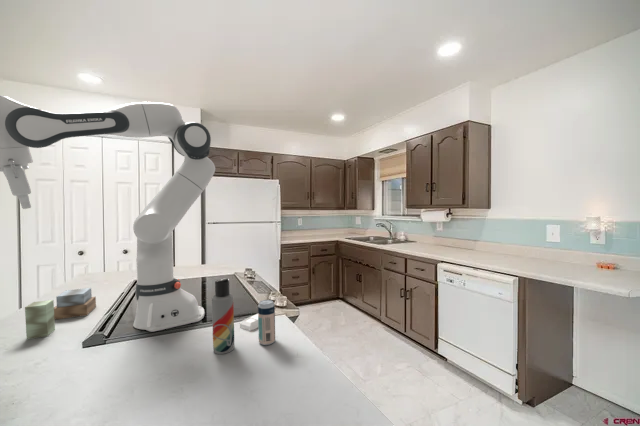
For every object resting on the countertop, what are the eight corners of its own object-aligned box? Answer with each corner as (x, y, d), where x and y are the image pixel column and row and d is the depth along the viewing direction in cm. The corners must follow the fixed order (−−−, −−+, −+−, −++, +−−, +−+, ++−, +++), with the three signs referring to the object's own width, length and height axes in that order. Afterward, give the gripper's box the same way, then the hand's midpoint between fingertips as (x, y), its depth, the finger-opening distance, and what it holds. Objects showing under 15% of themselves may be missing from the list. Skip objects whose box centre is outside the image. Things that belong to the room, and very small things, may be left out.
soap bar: (269, 322, 99) (269, 314, 99) (250, 332, 92) (249, 324, 92) (259, 319, 102) (259, 311, 102) (239, 328, 94) (239, 320, 94)
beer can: (278, 340, 85) (277, 300, 85) (269, 347, 81) (268, 305, 81) (265, 337, 87) (264, 298, 87) (255, 344, 83) (254, 303, 83)
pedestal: (96, 306, 116) (95, 286, 115) (87, 315, 106) (86, 294, 106) (64, 310, 112) (63, 290, 111) (52, 319, 103) (51, 297, 102)
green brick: (55, 329, 95) (53, 299, 94) (47, 336, 90) (45, 304, 90) (35, 332, 93) (33, 302, 92) (26, 339, 88) (24, 307, 88)
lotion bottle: (222, 356, 77) (220, 282, 76) (208, 351, 80) (206, 280, 79) (238, 347, 81) (237, 277, 81) (225, 342, 84) (223, 275, 84)
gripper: (28, 159, 76) (44, 209, 80) (23, 154, 89) (37, 197, 93) (-7, 162, 71) (11, 214, 76) (-7, 155, 85) (9, 200, 89)
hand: (25, 204), depth 85 cm, fingers open, 8 cm apart
